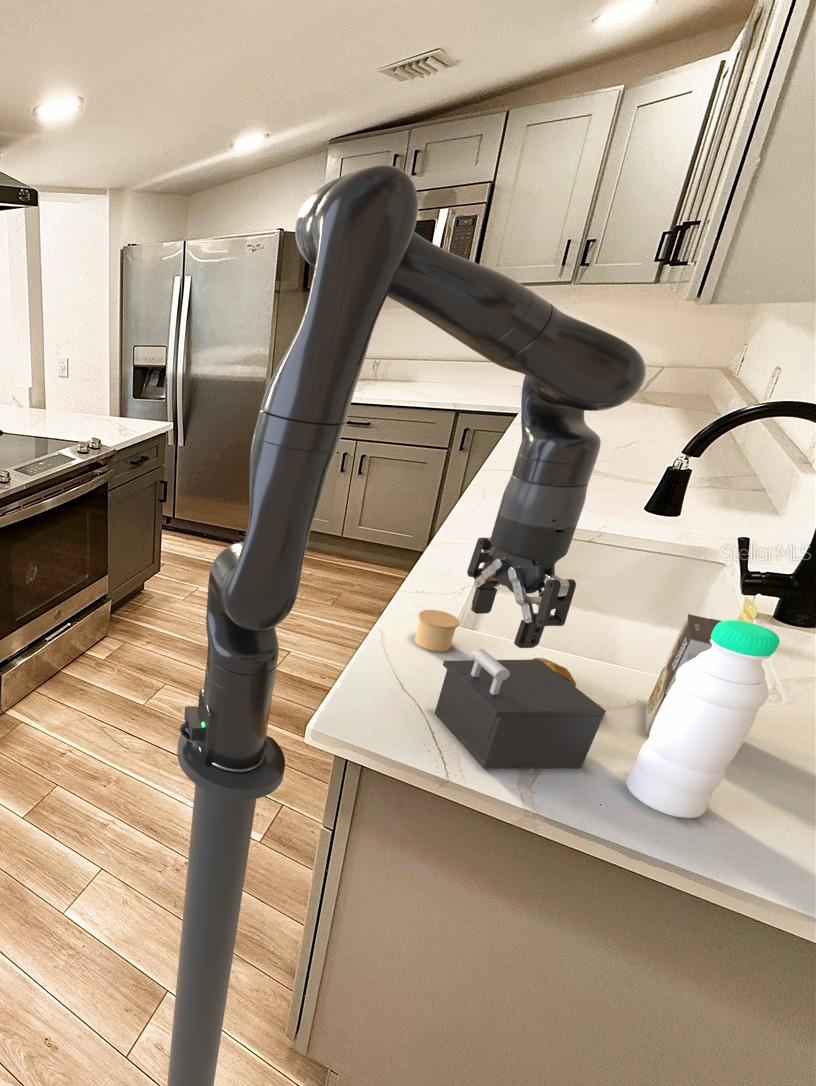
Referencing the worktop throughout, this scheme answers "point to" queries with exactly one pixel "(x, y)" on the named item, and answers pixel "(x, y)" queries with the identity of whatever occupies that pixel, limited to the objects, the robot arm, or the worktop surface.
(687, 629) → the coffee box
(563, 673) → the croissant
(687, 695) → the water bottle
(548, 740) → the hinged dark box
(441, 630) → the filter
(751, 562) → the worktop surface
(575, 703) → the lid
